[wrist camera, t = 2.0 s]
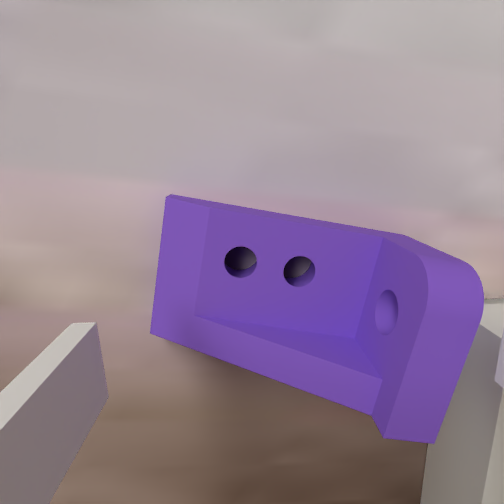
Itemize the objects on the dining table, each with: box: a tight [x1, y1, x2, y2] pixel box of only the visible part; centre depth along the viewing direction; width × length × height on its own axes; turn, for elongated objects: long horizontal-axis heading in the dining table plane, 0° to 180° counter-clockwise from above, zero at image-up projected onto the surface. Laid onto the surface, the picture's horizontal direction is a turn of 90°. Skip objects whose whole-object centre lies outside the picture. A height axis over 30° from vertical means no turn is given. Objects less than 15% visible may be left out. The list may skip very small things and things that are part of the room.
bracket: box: [150, 194, 484, 444], centre depth 15 cm, size 12×7×7 cm, turn 80°
